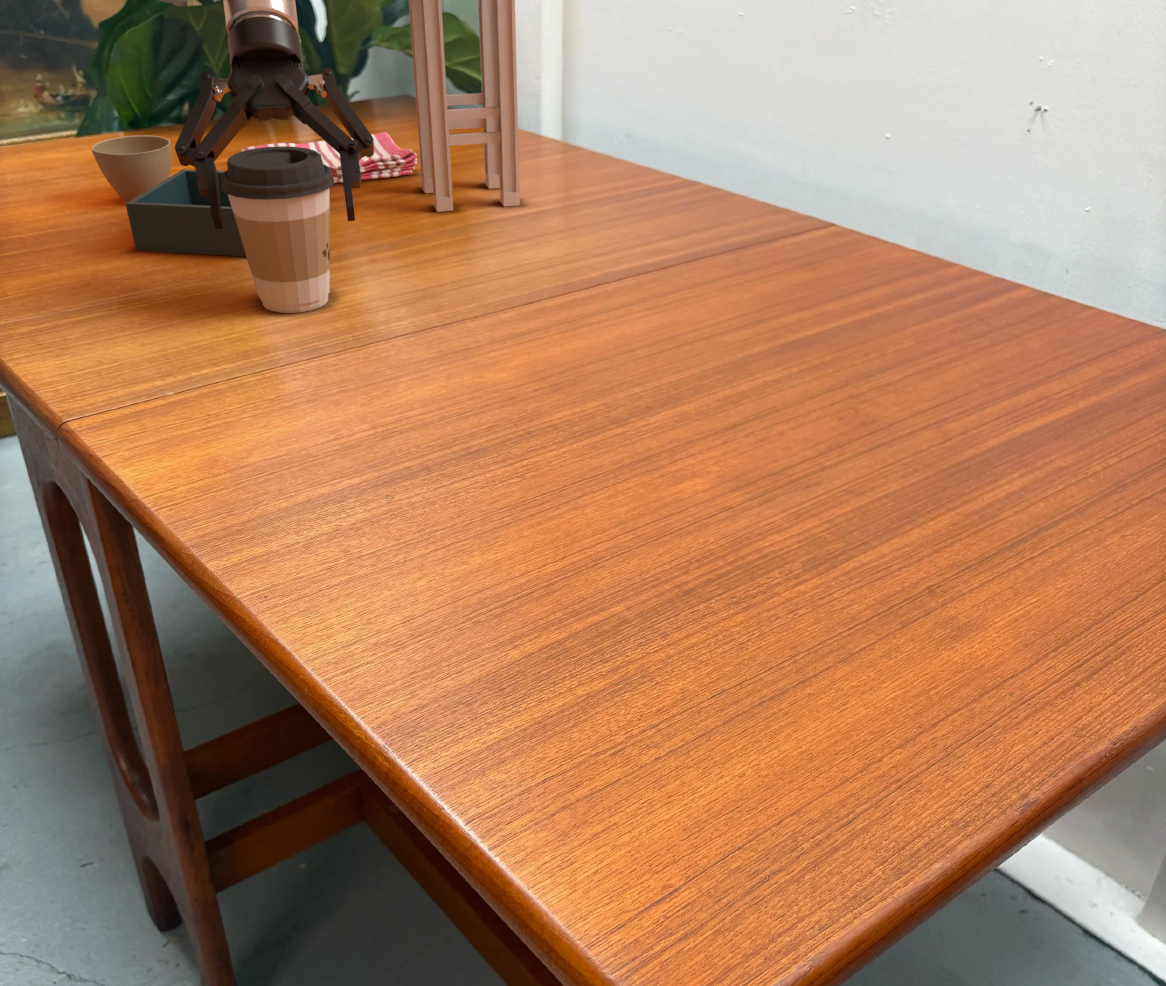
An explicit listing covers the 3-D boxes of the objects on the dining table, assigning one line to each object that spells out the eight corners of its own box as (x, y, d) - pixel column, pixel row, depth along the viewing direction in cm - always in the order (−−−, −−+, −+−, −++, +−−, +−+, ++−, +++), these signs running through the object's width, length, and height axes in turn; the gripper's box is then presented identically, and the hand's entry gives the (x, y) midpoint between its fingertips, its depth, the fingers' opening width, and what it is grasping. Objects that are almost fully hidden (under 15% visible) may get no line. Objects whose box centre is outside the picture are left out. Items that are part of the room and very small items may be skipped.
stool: (538, 208, 148) (534, -96, 128) (424, 217, 144) (402, -95, 124) (510, 178, 160) (502, -104, 140) (405, 186, 157) (381, -103, 137)
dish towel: (421, 174, 162) (419, 149, 160) (262, 192, 153) (258, 166, 151) (386, 148, 174) (384, 125, 172) (238, 163, 166) (233, 139, 164)
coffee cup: (357, 312, 117) (340, 166, 108) (248, 326, 113) (221, 176, 105) (338, 278, 125) (321, 140, 117) (236, 289, 122) (210, 148, 113)
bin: (135, 250, 133) (125, 203, 129) (190, 213, 145) (182, 169, 142) (259, 257, 131) (252, 209, 128) (304, 218, 144) (298, 174, 140)
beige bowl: (113, 189, 154) (101, 135, 150) (187, 187, 155) (176, 134, 151) (95, 210, 146) (82, 154, 142) (173, 208, 147) (162, 152, 143)
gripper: (381, 55, 124) (404, 228, 121) (150, 62, 119) (167, 243, 116) (380, 9, 117) (404, 192, 113) (133, 15, 112) (151, 207, 109)
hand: (284, 218), depth 115 cm, fingers open, 13 cm apart
